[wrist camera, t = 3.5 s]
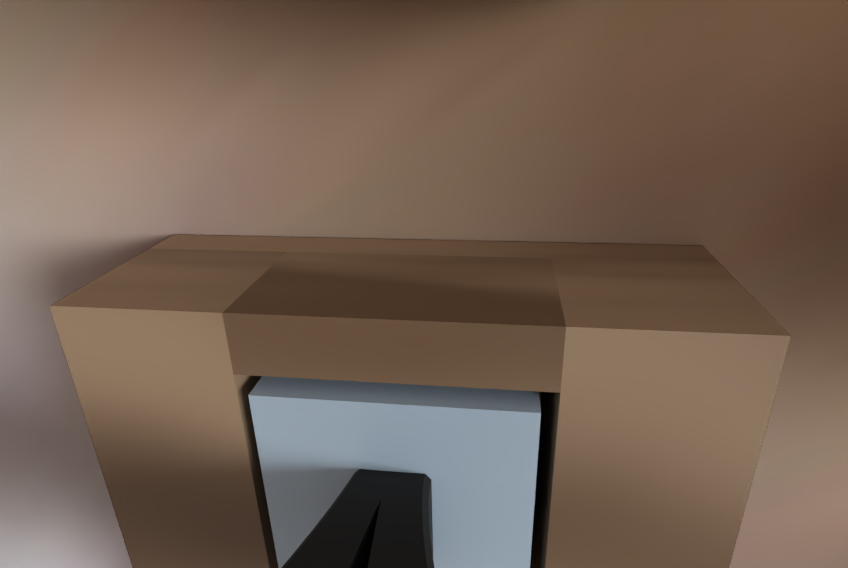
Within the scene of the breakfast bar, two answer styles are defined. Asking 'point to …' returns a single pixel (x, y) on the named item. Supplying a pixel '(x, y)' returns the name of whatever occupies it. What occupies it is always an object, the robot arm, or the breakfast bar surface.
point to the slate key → (403, 459)
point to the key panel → (431, 380)
